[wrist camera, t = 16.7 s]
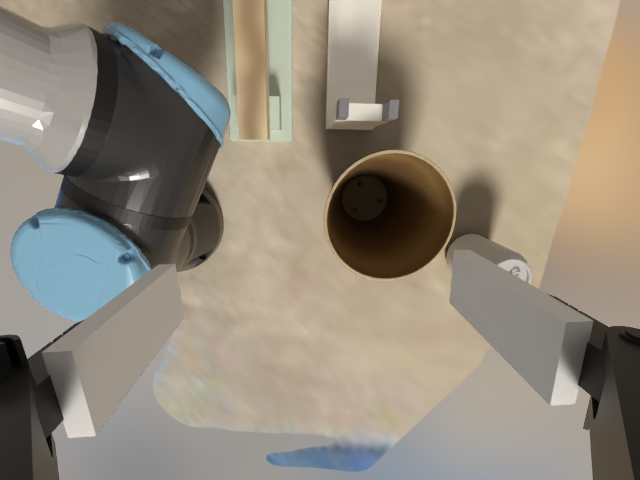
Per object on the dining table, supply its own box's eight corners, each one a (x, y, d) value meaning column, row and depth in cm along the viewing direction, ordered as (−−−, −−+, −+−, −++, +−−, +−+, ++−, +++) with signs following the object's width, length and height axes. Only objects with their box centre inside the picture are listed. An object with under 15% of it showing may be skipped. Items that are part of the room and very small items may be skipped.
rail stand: (325, 129, 47) (335, 117, 32) (330, -58, 41) (344, -174, 26) (371, 130, 47) (401, 119, 33) (383, -55, 41) (425, -168, 27)
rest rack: (231, 140, 47) (223, 139, 42) (220, -83, 39) (208, -116, 35) (292, 142, 47) (290, 140, 42) (291, -79, 40) (289, -111, 35)
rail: (244, 139, 42) (238, 138, 38) (233, -115, 35) (225, -144, 31) (270, 140, 42) (267, 138, 39) (265, -113, 35) (260, -141, 32)
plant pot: (298, 202, 50) (295, 223, 34) (364, 130, 47) (393, 118, 32) (364, 261, 53) (388, 305, 37) (429, 196, 50) (484, 215, 35)
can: (436, 249, 53) (473, 276, 41) (474, 223, 52) (522, 243, 40) (457, 282, 55) (498, 316, 43) (494, 257, 54) (547, 285, 42)
